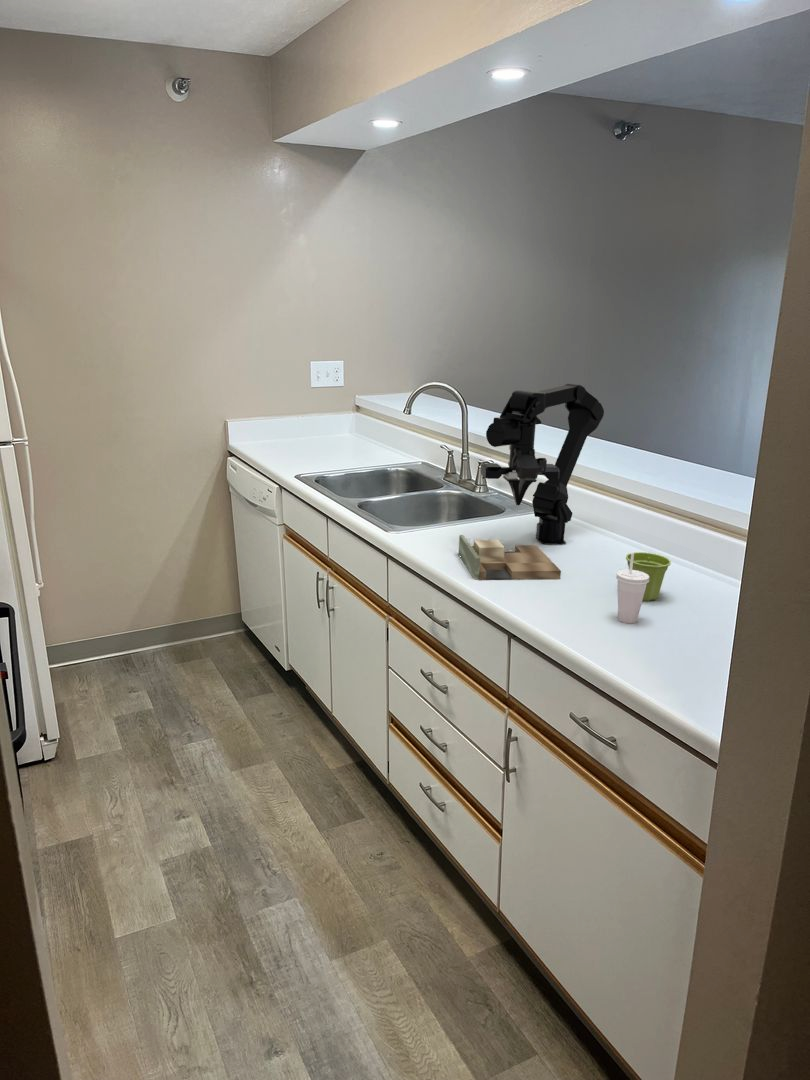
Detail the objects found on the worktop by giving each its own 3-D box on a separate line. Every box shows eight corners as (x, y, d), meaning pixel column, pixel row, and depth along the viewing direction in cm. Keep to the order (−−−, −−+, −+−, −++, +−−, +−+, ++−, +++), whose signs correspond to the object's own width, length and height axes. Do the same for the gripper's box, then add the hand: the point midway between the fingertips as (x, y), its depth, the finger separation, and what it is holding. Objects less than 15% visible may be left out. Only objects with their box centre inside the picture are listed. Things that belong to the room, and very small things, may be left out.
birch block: (497, 553, 196) (498, 540, 195) (503, 561, 191) (504, 547, 190) (473, 554, 195) (474, 540, 194) (478, 561, 190) (479, 547, 189)
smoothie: (606, 613, 166) (614, 548, 162) (637, 613, 166) (645, 548, 162) (617, 626, 160) (625, 558, 156) (648, 626, 160) (657, 558, 156)
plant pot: (666, 592, 179) (671, 555, 177) (665, 606, 171) (670, 568, 168) (623, 586, 182) (627, 550, 180) (619, 600, 174) (624, 562, 171)
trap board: (535, 552, 205) (537, 533, 204) (560, 579, 186) (562, 558, 185) (458, 553, 202) (459, 534, 201) (475, 580, 183) (476, 559, 182)
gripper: (492, 448, 189) (488, 513, 194) (569, 449, 192) (563, 513, 196) (482, 440, 200) (478, 501, 204) (555, 441, 202) (550, 502, 207)
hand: (517, 504), depth 203 cm, fingers closed
